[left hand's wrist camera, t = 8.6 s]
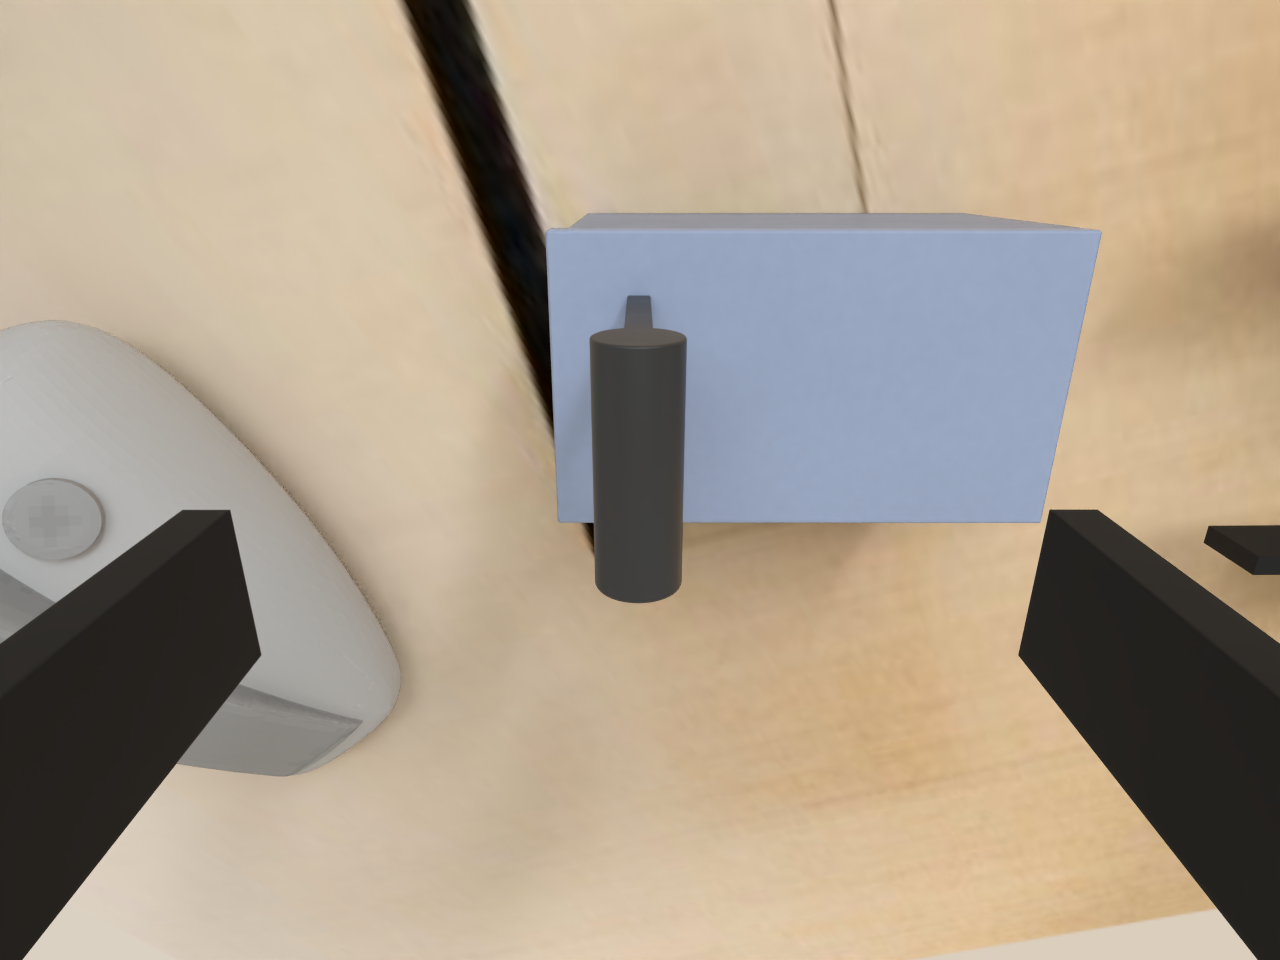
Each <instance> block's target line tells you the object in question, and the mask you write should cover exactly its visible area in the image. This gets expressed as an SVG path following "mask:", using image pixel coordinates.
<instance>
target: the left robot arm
mask: <svg viewBox="0 0 1280 960" xmlns="http://www.w3.org/2000/svg"><path fill="white" fill-rule="evenodd" d="M260 657H261V650H260V645H259V641H258V636H257V632H256V627H255V622H254V618H253V613H252V608H251V604H250V599H249V594H248V590H247V585H246V580H245V576H244V571H243V566H242V562H241V557H240V553H239V548H238V543H237V539H236V534H235V529H234V525H233V520H232V515H231V511H230V510H181V511H180V512H179V513H177V514H176V515H175V516H173V517H172V518H171V519H169V520H168V521H167V522H165V523H164V524H162V525H161V526H160V527H158V528H157V529H156V530H154V531H153V532H152V533H150V534H149V535H147V536H146V537H145V538H143V539H142V540H141V541H139V542H138V543H137V544H135V545H134V546H133V547H131V548H130V549H128V550H127V551H126V552H124V553H123V554H122V555H120V556H119V557H118V558H116V559H115V560H113V561H112V562H111V563H109V564H108V565H107V566H105V567H104V568H103V569H101V570H100V571H98V572H97V573H96V574H94V575H93V576H92V577H90V578H89V579H88V580H86V581H85V582H84V583H82V584H81V585H79V586H78V587H77V588H75V589H74V590H73V591H71V592H70V593H69V594H67V595H66V596H64V597H63V598H62V599H60V600H59V601H58V602H56V603H55V604H54V605H52V606H51V607H49V608H48V609H47V610H45V611H44V612H43V613H41V614H40V615H39V616H37V617H36V618H35V619H33V620H32V621H30V622H29V623H28V624H26V625H25V626H24V627H22V628H21V629H20V630H18V631H17V632H15V633H14V634H13V635H11V636H10V637H9V638H7V639H6V640H5V641H3V642H2V643H1V644H0V960H22V959H23V958H24V957H25V956H26V954H27V953H28V952H29V951H30V949H31V948H32V947H33V946H34V944H35V943H36V942H37V940H38V939H39V938H40V937H41V935H42V934H43V933H44V932H45V930H46V929H47V928H48V926H49V925H50V924H51V923H52V921H53V920H54V919H55V918H56V916H57V915H58V914H59V912H60V911H61V910H62V909H63V907H64V906H65V905H66V904H67V902H68V901H69V900H70V898H71V897H72V896H73V895H74V893H75V892H76V891H77V890H78V888H79V887H80V886H81V884H82V883H83V882H84V881H85V879H86V878H87V877H88V876H89V874H90V873H91V872H92V870H93V869H94V868H95V867H96V865H97V864H98V863H99V862H100V860H101V859H102V858H103V856H104V855H105V854H106V853H107V851H108V850H109V849H110V848H111V846H112V845H113V844H114V842H115V841H116V840H117V839H118V837H119V836H120V835H121V834H122V832H123V831H124V830H125V828H126V827H127V826H128V825H129V823H130V822H131V821H132V820H133V818H134V817H135V816H136V814H137V813H138V812H139V811H140V809H141V808H142V807H143V806H144V804H145V803H146V802H147V800H148V799H149V798H150V797H151V795H152V794H153V793H154V792H155V790H156V789H157V788H158V786H159V785H160V784H161V783H162V781H163V780H164V779H165V778H166V776H167V775H168V774H169V772H170V771H171V770H172V769H173V767H174V766H175V765H176V764H177V762H178V761H179V760H180V758H181V757H182V756H183V755H184V753H185V752H186V751H187V750H188V748H189V747H190V746H191V744H192V743H193V742H194V741H195V739H196V738H197V737H198V736H199V734H200V733H201V732H202V730H203V729H204V728H205V727H206V725H207V724H208V723H209V722H210V720H211V719H212V718H213V716H214V715H215V714H216V713H217V711H218V710H219V709H220V708H221V706H222V705H223V704H224V702H225V701H226V700H227V699H228V697H229V696H230V695H231V694H232V692H233V691H234V690H235V688H236V687H237V686H238V685H239V683H240V682H241V681H242V680H243V678H244V677H245V676H246V674H247V673H248V672H249V671H250V669H251V668H252V667H253V666H254V664H255V663H256V662H257V660H258V659H259V658H260ZM1019 657H1020V658H1021V659H1022V660H1023V662H1024V663H1025V664H1026V666H1027V667H1028V668H1029V669H1030V671H1031V672H1032V673H1033V674H1034V676H1035V677H1036V678H1037V680H1038V681H1039V682H1040V683H1041V685H1042V686H1043V687H1044V688H1045V690H1046V691H1047V692H1048V694H1049V695H1050V696H1051V697H1052V699H1053V700H1054V701H1055V702H1056V704H1057V705H1058V706H1059V708H1060V709H1061V710H1062V711H1063V713H1064V714H1065V715H1066V716H1067V718H1068V719H1069V720H1070V722H1071V723H1072V724H1073V725H1074V727H1075V728H1076V729H1077V730H1078V732H1079V733H1080V734H1081V736H1082V737H1083V738H1084V739H1085V741H1086V742H1087V743H1088V744H1089V746H1090V747H1091V748H1092V750H1093V751H1094V752H1095V753H1096V755H1097V756H1098V757H1099V758H1100V760H1101V761H1102V762H1103V764H1104V765H1105V766H1106V767H1107V769H1108V770H1109V771H1110V772H1111V774H1112V775H1113V776H1114V778H1115V779H1116V780H1117V781H1118V783H1119V784H1120V785H1121V786H1122V788H1123V789H1124V790H1125V792H1126V793H1127V794H1128V795H1129V797H1130V798H1131V799H1132V800H1133V802H1134V803H1135V804H1136V806H1137V807H1138V808H1139V809H1140V811H1141V812H1142V813H1143V814H1144V816H1145V817H1146V818H1147V820H1148V821H1149V822H1150V823H1151V825H1152V826H1153V827H1154V828H1155V830H1156V831H1157V832H1158V834H1159V835H1160V836H1161V837H1162V839H1163V840H1164V841H1165V842H1166V844H1167V845H1168V846H1169V848H1170V849H1171V850H1172V851H1173V853H1174V854H1175V855H1176V856H1177V858H1178V859H1179V860H1180V862H1181V863H1182V864H1183V865H1184V867H1185V868H1186V869H1187V870H1188V872H1189V873H1190V874H1191V876H1192V877H1193V878H1194V879H1195V881H1196V882H1197V883H1198V884H1199V886H1200V887H1201V888H1202V890H1203V891H1204V892H1205V893H1206V895H1207V896H1208V897H1209V898H1210V900H1211V901H1212V902H1213V904H1214V905H1215V906H1216V907H1217V909H1218V910H1219V911H1220V912H1221V914H1222V915H1223V916H1224V917H1225V919H1226V920H1227V921H1228V923H1229V924H1230V925H1231V926H1232V928H1233V929H1234V930H1235V932H1236V933H1237V934H1238V935H1239V937H1240V938H1241V939H1242V940H1243V942H1244V943H1245V944H1246V946H1247V947H1248V948H1249V949H1250V951H1251V952H1252V953H1253V954H1254V956H1255V957H1256V958H1257V960H1280V644H1279V643H1278V642H1277V641H1275V640H1274V639H1273V638H1271V637H1270V636H1269V635H1267V634H1266V633H1265V632H1263V631H1262V630H1260V629H1259V628H1258V627H1256V626H1255V625H1254V624H1252V623H1251V622H1250V621H1248V620H1247V619H1245V618H1244V617H1243V616H1241V615H1240V614H1239V613H1237V612H1236V611H1235V610H1233V609H1232V608H1231V607H1229V606H1228V605H1226V604H1225V603H1224V602H1222V601H1221V600H1220V599H1218V598H1217V597H1216V596H1214V595H1213V594H1211V593H1210V592H1209V591H1207V590H1206V589H1205V588H1203V587H1202V586H1201V585H1199V584H1198V583H1196V582H1195V581H1194V580H1192V579H1191V578H1190V577H1188V576H1187V575H1186V574H1184V573H1183V572H1182V571H1180V570H1179V569H1177V568H1176V567H1175V566H1173V565H1172V564H1171V563H1169V562H1168V561H1167V560H1165V559H1164V558H1162V557H1161V556H1160V555H1158V554H1157V553H1156V552H1154V551H1153V550H1152V549H1150V548H1149V547H1147V546H1146V545H1145V544H1143V543H1142V542H1141V541H1139V540H1138V539H1137V538H1135V537H1134V536H1133V535H1131V534H1130V533H1128V532H1127V531H1126V530H1124V529H1123V528H1122V527H1120V526H1119V525H1118V524H1116V523H1115V522H1113V521H1112V520H1111V519H1109V518H1108V517H1107V516H1105V515H1104V514H1103V513H1101V512H1100V511H1099V510H1050V511H1049V515H1048V520H1047V525H1046V529H1045V534H1044V539H1043V543H1042V548H1041V553H1040V557H1039V562H1038V566H1037V571H1036V576H1035V580H1034V585H1033V590H1032V594H1031V599H1030V604H1029V608H1028V613H1027V618H1026V622H1025V627H1024V632H1023V636H1022V641H1021V645H1020V650H1019Z"/></svg>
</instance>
